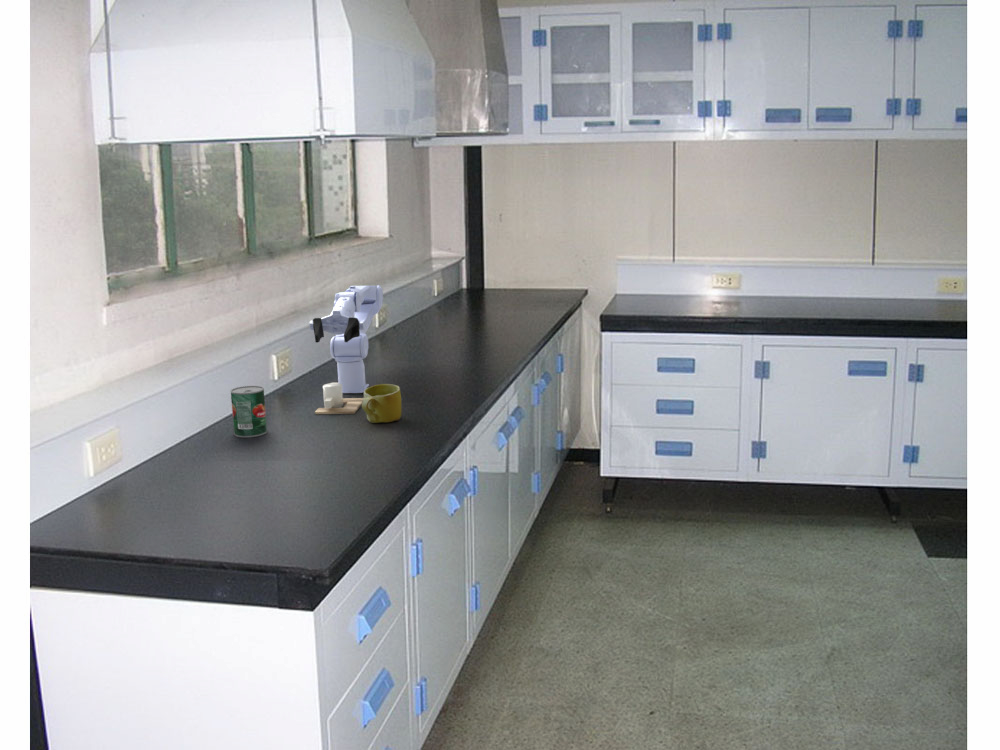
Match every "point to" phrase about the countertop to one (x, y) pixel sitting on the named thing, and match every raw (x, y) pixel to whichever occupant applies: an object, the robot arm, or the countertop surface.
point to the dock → (349, 408)
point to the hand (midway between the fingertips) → (331, 338)
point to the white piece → (333, 395)
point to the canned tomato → (248, 411)
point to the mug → (382, 403)
